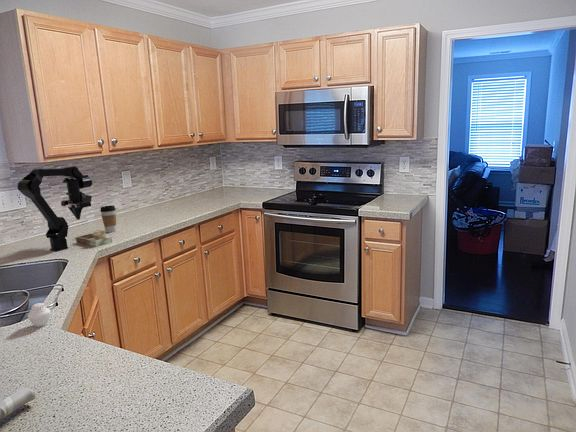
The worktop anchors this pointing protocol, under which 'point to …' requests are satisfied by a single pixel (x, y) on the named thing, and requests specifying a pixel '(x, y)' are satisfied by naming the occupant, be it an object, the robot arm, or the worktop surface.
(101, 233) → the beech block
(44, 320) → the pale grey rounded lump
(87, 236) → the trap board
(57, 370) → the worktop surface
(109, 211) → the coffee cup
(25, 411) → the worktop surface
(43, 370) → the worktop surface
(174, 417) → the worktop surface
